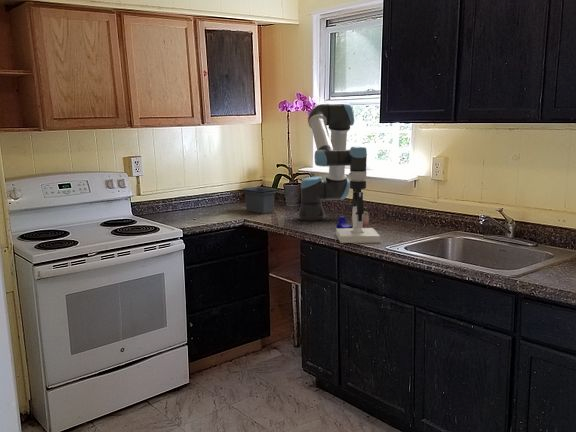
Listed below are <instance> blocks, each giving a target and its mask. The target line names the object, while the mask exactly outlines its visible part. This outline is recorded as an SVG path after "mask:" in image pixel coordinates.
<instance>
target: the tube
mask: <svg viewBox="0 0 576 432" xmlns="http://www.w3.org/2000/svg"><path fill="white" fill-rule="evenodd" d="M352 209H353V223H352V225H353V233H362V228H357V214H356V212H357V206H354V207H353V208H352Z"/></svg>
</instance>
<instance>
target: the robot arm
mask: <svg viewBox="0 0 576 432" xmlns="http://www.w3.org/2000/svg"><path fill="white" fill-rule="evenodd" d="M307 123H308V126H309V128H310V129H311V131H312V132H311V133H312V136H313V139H314V140H313V141H314V143H315V148H316V150H315V151H314V164H315V166H316V167H329V168H328V173H327V174H326V175H325V178H323V177H322V176H320V175H319V176H308V177H306V178H302V179H301V183H300V191H301V192H300V199H301V200H300V202H301V203H300V207H299V211H298V214H297V219H298V220H301V221H306V222H307V221H308V222H309V221H311V222H312V221H314V222H316V221H317V222H318V221H323V220H325V218H326V213H325V211H324V208H323V201H325V200H329V201H330V200H331V201H332V200H334V201H336V200H338V201H340V200H345V199H346V198H347V197H348V195H349V193H350V189H351V190H352V201H351V202H352V203H351V208H352V213H351V214H352V215H351V217H352V221H351V223H352V222H353V207H354V206H357V212H356V214H357V228H364V227H363V213H364V211H365V210H364V209H365V208H364V193H363V191H362V190H365V189H366V188H367V160H368V159H367V156H368V152H367V150H368V149H367V147H366V146H359V145H358V146H350V149H347V138H348V132H349V131H350V130H351V127H352V126H354V124H355V114H354V109H353V106H352V105H351V104H350V103H347V102H323V103H319V104H317V105H315V106H313V108H312V109H311V111H309V114H308V117H307ZM328 129H329V131H330V133H329V131H328ZM329 134H330V135H329ZM347 166H349V173H348V176H349V178H348V176H347V175H346V174H345V169H346V168H345V167H347Z"/></svg>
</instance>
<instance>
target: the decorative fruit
mask: <svg viewBox="0 0 576 432" xmlns="http://www.w3.org/2000/svg"><path fill="white" fill-rule="evenodd" d="M350 220H351V223H352V224H353V222H352V216H351V217H350ZM369 222H370V216H369V212H368V211H365V210H364V213H363V228H366V226H367V225H368V224H369Z"/></svg>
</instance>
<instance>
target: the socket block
mask: <svg viewBox="0 0 576 432" xmlns="http://www.w3.org/2000/svg"><path fill="white" fill-rule="evenodd" d="M335 235H336V238H337V239H338V241H339V243H340V244H347V243H348V244H351V243H352V244H355V243H356V244H357V243H359V244H360V243H365V244H366V243H380V242H381V235H380V234H379V232H377V231H376V229H375V228H373V227H363V228H362V233H353V228H337V227H336V229H335Z"/></svg>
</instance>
